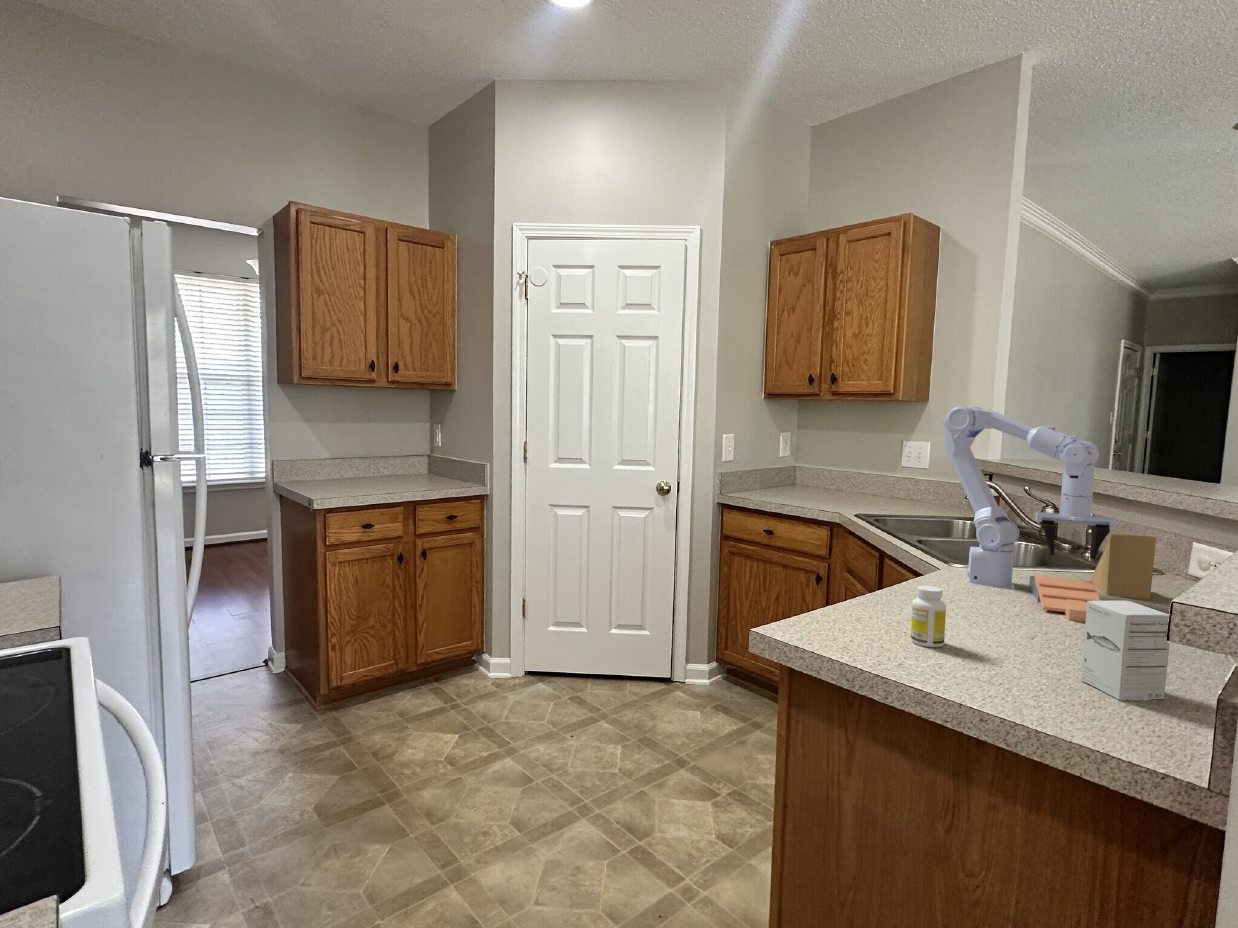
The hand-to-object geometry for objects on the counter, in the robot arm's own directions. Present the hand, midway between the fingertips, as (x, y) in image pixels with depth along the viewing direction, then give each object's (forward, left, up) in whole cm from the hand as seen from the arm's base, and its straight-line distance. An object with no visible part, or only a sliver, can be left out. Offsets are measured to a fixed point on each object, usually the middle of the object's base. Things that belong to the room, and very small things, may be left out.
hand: (1071, 556), depth 147 cm
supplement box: (-3, -56, -10) cm, 57 cm away
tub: (-2, -1, -10) cm, 10 cm away
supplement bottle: (-29, -47, -10) cm, 56 cm away
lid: (-2, -12, -7) cm, 14 cm away
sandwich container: (+12, +15, -10) cm, 22 cm away
